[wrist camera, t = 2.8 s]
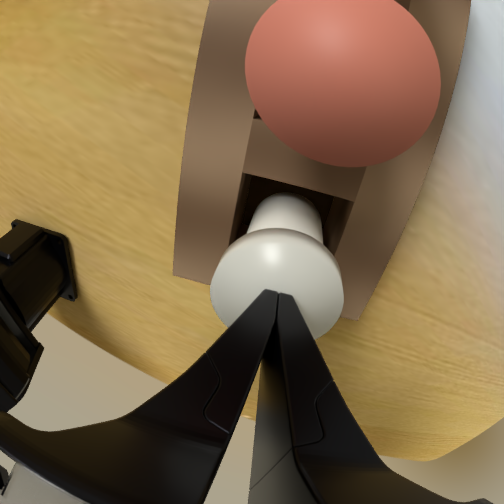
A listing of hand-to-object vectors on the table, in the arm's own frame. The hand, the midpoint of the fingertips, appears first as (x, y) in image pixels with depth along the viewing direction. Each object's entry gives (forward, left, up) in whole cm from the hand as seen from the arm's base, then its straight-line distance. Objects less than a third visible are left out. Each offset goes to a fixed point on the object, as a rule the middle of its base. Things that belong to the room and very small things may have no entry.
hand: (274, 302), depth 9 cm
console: (+7, 0, -8) cm, 11 cm away
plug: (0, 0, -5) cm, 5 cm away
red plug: (+7, 0, -4) cm, 8 cm away
